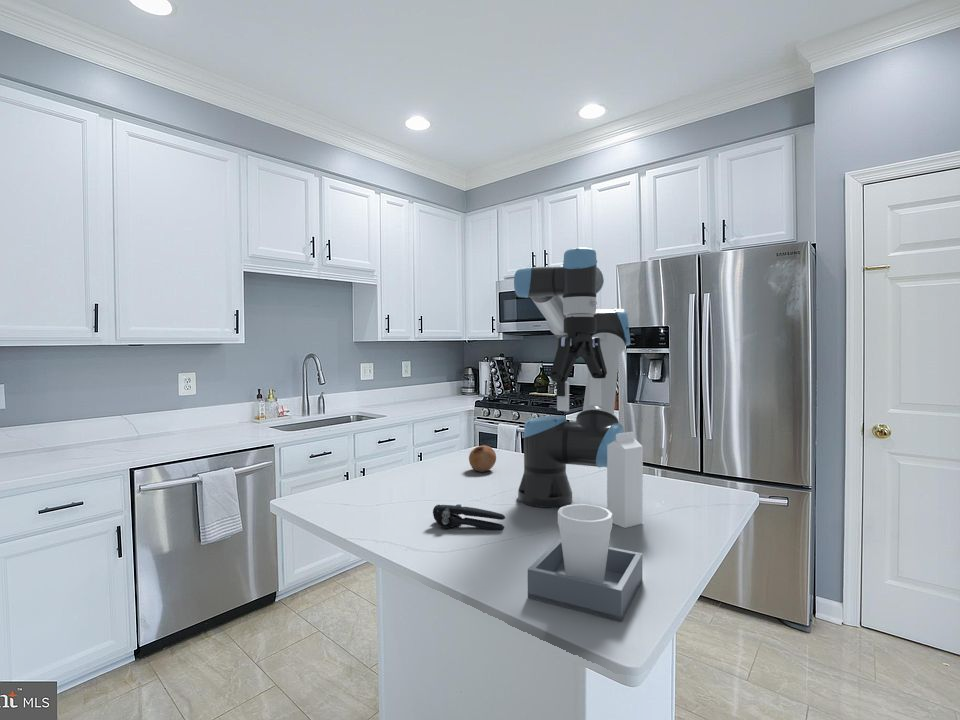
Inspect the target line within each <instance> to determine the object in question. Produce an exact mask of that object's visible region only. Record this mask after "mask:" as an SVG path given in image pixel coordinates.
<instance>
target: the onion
mask: <svg viewBox="0 0 960 720" xmlns="http://www.w3.org/2000/svg"><path fill="white" fill-rule="evenodd" d="M468 455H469V456H468V461H469V464H470V467H471V469H472V470H474V471H476V472H480V473H485V472H487V471H490V470H491V469H493V468H494V466H495V464H496V462H497V455H496V452H495V450H494V449H493V448H492V447H491V446H488V445H485V444H484V445H479V446H476V447H474V448H473V449H472V450H471V451H470V453H469V454H468Z"/></svg>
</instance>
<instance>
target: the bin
mask: <svg viewBox="0 0 960 720" xmlns="http://www.w3.org/2000/svg"><path fill="white" fill-rule="evenodd" d="M642 581H643V553H642V552H636V551H633V550H632V551H631V550H626V549H622V548H618V547H617V548H616V547H611V546H609V547H608V555H607V562H606V570H605V577H604V583H599V582H595V581H590V580H586V579H581V578H577V577H573V576H568V575H566V573H565V566H564V559H563V551H562V544H561V537H559V538H558V539H557V540H556V541H555V542H554V543H553V544H552V545H551V546H550V547H549V548H548V549H547V550H546V551H545V552H544V553H543V554H541V555H540V556H539V558H538V559H536V560H535V561H534V562H533V563H532V564H531V565H530V566H529V567H528V568H527V598H528V599H531V600H536V601H539V602H543V603H546V604H547V603H548V604H551V605H556V606H558V607H561V608H566V609H570V610H572V611H573V610H574V611H578V612H582V613H585V614H588V615H589V614H590V615H593V616H597V617H600V618H604V619H605V618H606V619H609V620H612V621H616V622H621V623H622V621H623V619H624V617H625V615H626V613H627V611H628V610H629V607H630V605H631V603H632V601H633V600H634V597H635V596H636V593H638V590H639V588H640V586H641V583H642Z"/></svg>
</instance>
